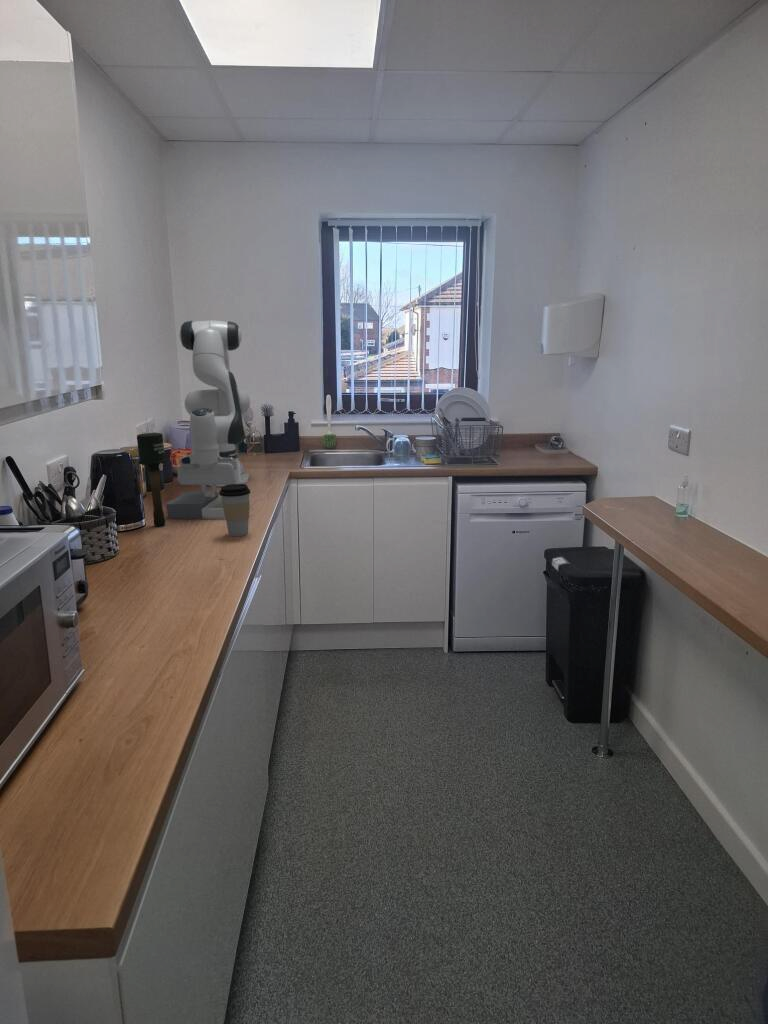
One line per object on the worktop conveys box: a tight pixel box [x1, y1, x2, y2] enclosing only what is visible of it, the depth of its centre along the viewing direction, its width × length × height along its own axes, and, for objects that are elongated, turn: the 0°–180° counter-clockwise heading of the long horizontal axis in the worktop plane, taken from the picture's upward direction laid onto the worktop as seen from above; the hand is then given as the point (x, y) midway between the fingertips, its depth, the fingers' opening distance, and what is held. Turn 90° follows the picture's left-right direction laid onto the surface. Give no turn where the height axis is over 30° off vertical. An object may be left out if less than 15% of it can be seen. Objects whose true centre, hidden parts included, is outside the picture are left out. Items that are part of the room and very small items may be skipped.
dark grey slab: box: [165, 491, 220, 519], centre depth 235 cm, size 18×12×5 cm, turn 175°
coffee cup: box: [218, 483, 251, 537], centre depth 206 cm, size 9×9×15 cm
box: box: [201, 495, 225, 520], centre depth 234 cm, size 20×10×4 cm, turn 175°
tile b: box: [214, 503, 223, 508], centre depth 230 cm, size 6×6×2 cm
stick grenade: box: [136, 432, 168, 528], centre depth 215 cm, size 8×9×30 cm
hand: (209, 497), depth 229 cm, fingers closed
